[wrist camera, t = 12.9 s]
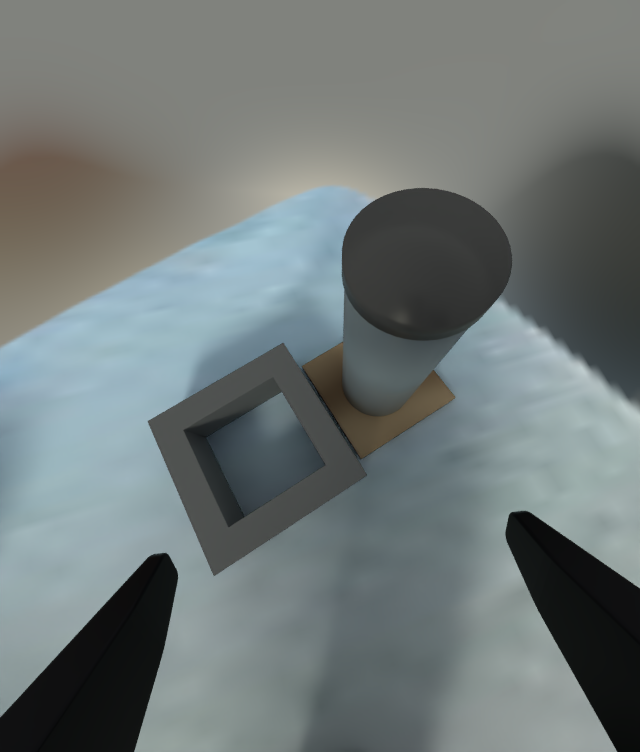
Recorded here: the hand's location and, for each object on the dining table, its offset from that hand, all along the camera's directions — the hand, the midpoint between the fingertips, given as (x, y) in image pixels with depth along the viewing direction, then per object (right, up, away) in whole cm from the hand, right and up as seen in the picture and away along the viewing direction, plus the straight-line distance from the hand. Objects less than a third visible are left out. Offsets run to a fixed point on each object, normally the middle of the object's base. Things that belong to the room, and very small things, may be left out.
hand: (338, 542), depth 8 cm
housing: (-4, -1, +14) cm, 15 cm away
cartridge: (+4, +4, +15) cm, 16 cm away
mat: (+4, +4, +15) cm, 16 cm away
